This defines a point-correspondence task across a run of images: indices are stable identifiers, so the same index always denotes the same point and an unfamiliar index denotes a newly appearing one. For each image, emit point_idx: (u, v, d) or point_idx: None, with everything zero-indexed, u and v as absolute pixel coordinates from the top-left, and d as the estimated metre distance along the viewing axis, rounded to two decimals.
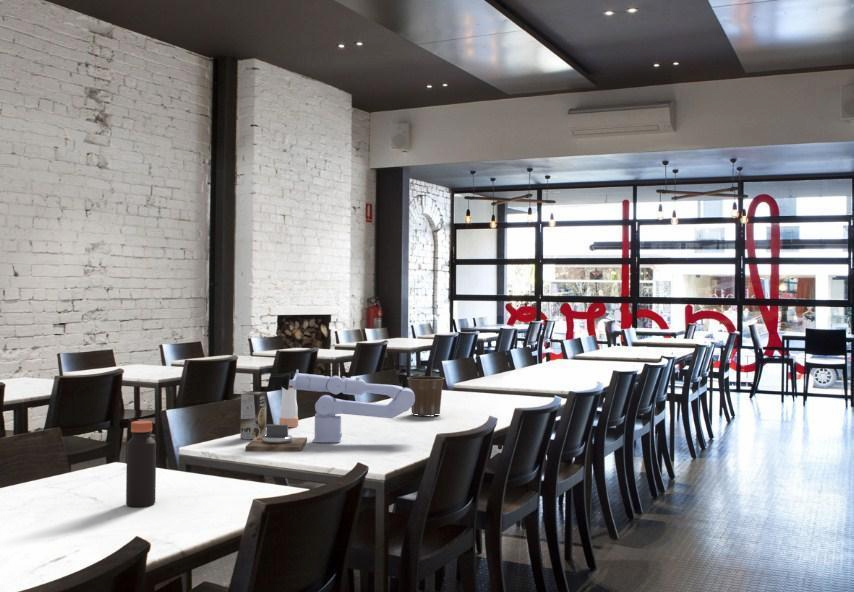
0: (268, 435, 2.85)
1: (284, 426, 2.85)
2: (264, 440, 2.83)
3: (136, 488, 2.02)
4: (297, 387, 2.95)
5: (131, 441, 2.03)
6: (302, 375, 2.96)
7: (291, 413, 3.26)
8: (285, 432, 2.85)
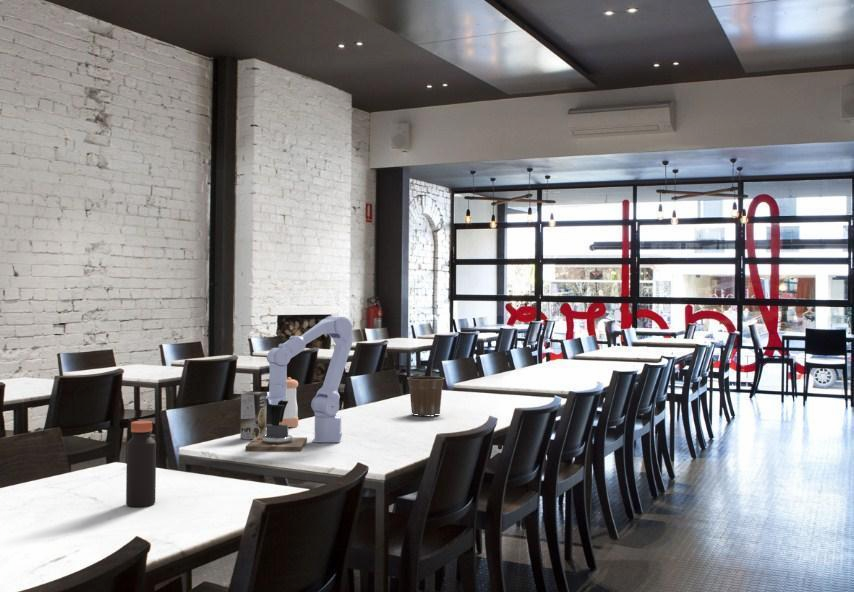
0: (268, 435, 2.85)
1: (284, 426, 2.85)
2: (264, 440, 2.83)
3: (136, 488, 2.02)
4: (282, 395, 2.84)
5: (131, 441, 2.03)
6: (270, 391, 2.84)
7: (291, 413, 3.26)
8: (285, 432, 2.85)
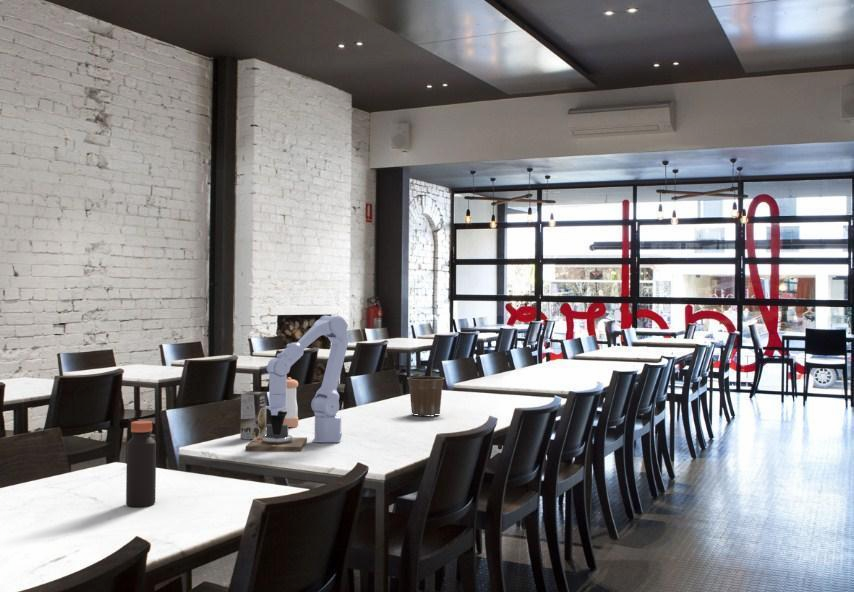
0: (268, 435, 2.85)
1: (284, 426, 2.85)
2: (264, 440, 2.83)
3: (136, 488, 2.02)
4: (282, 405, 2.84)
5: (131, 441, 2.03)
6: (270, 401, 2.84)
7: (291, 413, 3.26)
8: (285, 432, 2.85)
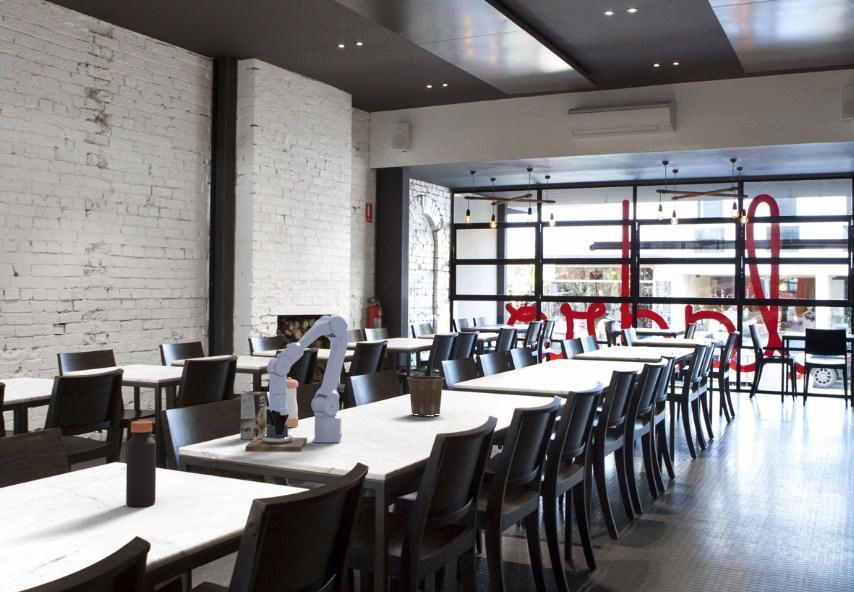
0: (268, 435, 2.85)
1: (284, 426, 2.85)
2: (264, 440, 2.83)
3: (136, 488, 2.02)
4: (285, 405, 2.85)
5: (131, 441, 2.03)
6: (272, 402, 2.84)
7: (291, 413, 3.26)
8: (285, 432, 2.85)
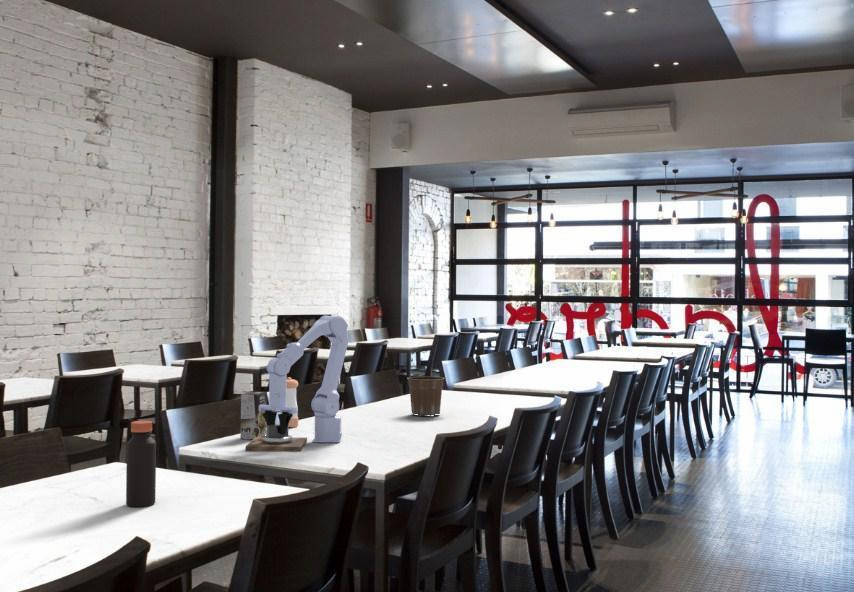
0: (270, 436, 2.84)
1: None
2: (269, 441, 2.81)
3: (136, 488, 2.02)
4: None
5: (131, 441, 2.03)
6: (277, 402, 2.83)
7: None
8: (286, 431, 2.87)
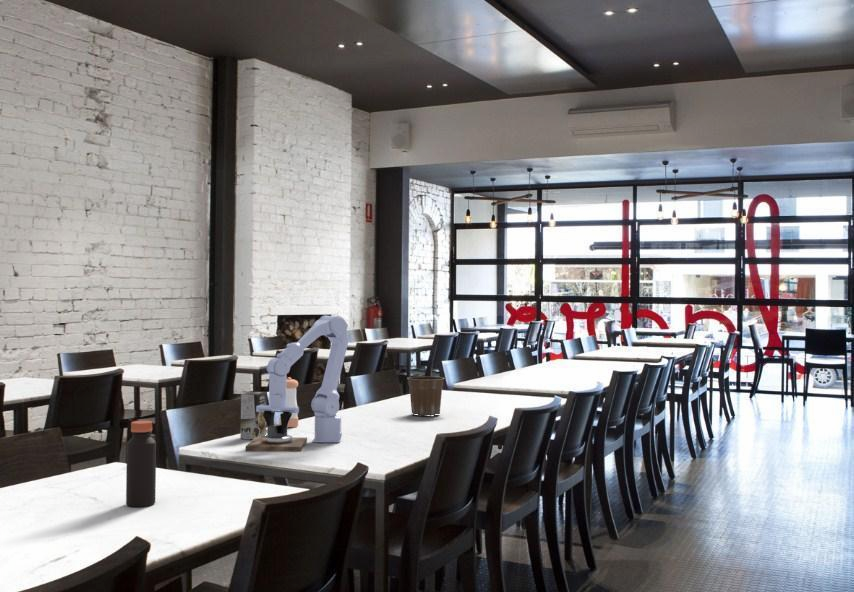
0: (272, 436, 2.83)
1: None
2: (275, 441, 2.81)
3: (136, 488, 2.02)
4: None
5: (131, 441, 2.03)
6: (279, 402, 2.83)
7: None
8: None
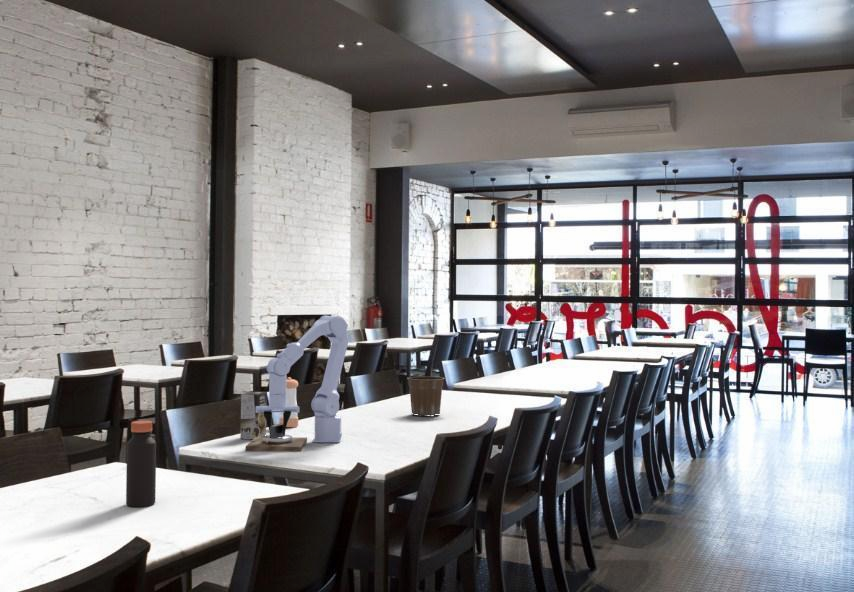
0: (275, 436, 2.83)
1: None
2: (280, 441, 2.81)
3: (136, 488, 2.02)
4: None
5: (131, 441, 2.03)
6: (281, 402, 2.84)
7: (291, 413, 3.26)
8: None
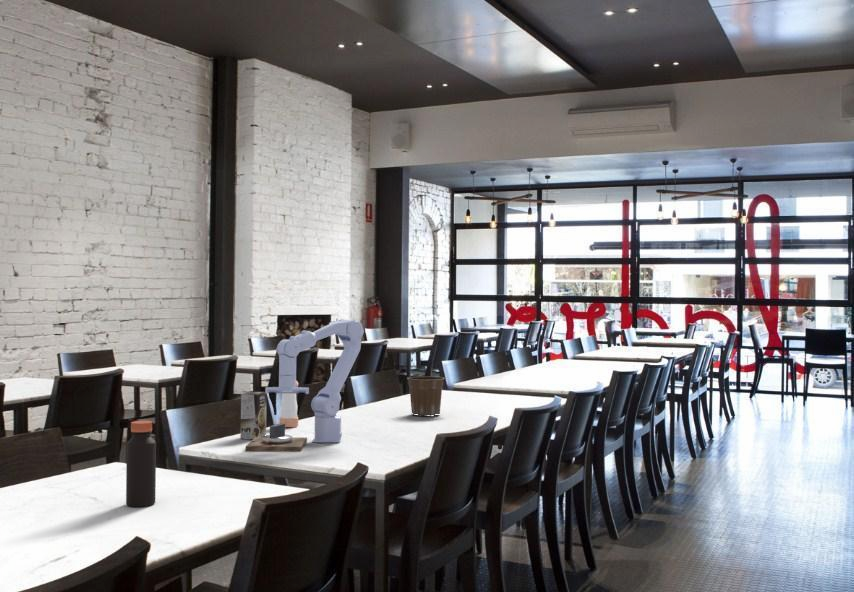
0: (275, 436, 2.83)
1: (283, 425, 2.88)
2: (280, 441, 2.81)
3: (136, 488, 2.02)
4: None
5: (131, 441, 2.03)
6: (291, 383, 2.86)
7: (291, 413, 3.26)
8: (284, 430, 2.88)
